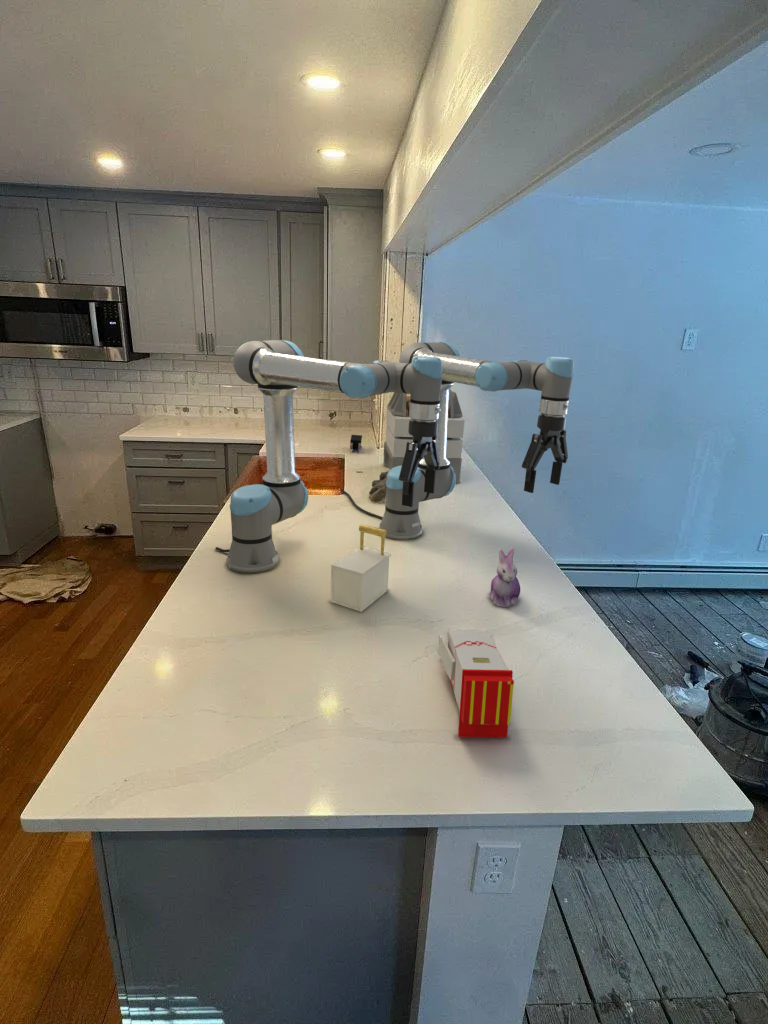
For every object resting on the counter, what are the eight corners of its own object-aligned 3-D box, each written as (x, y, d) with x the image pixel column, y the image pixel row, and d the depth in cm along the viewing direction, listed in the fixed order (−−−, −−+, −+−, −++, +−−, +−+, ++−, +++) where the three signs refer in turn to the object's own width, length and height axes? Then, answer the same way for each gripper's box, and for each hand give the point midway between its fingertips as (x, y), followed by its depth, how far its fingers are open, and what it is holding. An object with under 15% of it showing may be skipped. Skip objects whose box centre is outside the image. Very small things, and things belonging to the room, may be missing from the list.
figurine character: (361, 456, 307) (362, 446, 320) (362, 442, 303) (362, 433, 317) (349, 455, 306) (350, 446, 320) (349, 442, 303) (350, 433, 316)
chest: (358, 581, 164) (359, 549, 160) (387, 590, 160) (389, 557, 156) (330, 602, 152) (331, 567, 148) (361, 611, 148) (362, 576, 144)
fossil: (368, 477, 249) (395, 458, 244) (381, 493, 252) (408, 475, 247) (361, 498, 229) (391, 478, 224) (375, 515, 232) (405, 496, 227)
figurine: (502, 611, 151) (509, 560, 146) (479, 594, 159) (485, 545, 154) (530, 604, 155) (537, 554, 150) (506, 588, 163) (512, 540, 158)
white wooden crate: (382, 463, 289) (386, 382, 275) (445, 464, 293) (451, 384, 279) (390, 482, 257) (394, 392, 243) (460, 483, 261) (468, 394, 247)
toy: (488, 613, 130) (523, 677, 101) (484, 667, 133) (517, 744, 104) (435, 612, 130) (455, 676, 101) (432, 666, 133) (451, 743, 103)
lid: (361, 548, 161) (362, 521, 158) (390, 556, 157) (392, 528, 154) (331, 567, 148) (331, 538, 146) (362, 576, 144) (363, 546, 141)
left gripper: (415, 429, 132) (410, 514, 139) (455, 414, 153) (449, 489, 160) (387, 425, 135) (383, 508, 142) (430, 411, 156) (425, 485, 163)
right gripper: (539, 421, 147) (528, 498, 154) (587, 413, 163) (575, 483, 170) (514, 416, 152) (505, 491, 159) (564, 409, 168) (553, 477, 175)
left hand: (418, 498), depth 151 cm, fingers open, 13 cm apart
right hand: (541, 487), depth 165 cm, fingers open, 13 cm apart
